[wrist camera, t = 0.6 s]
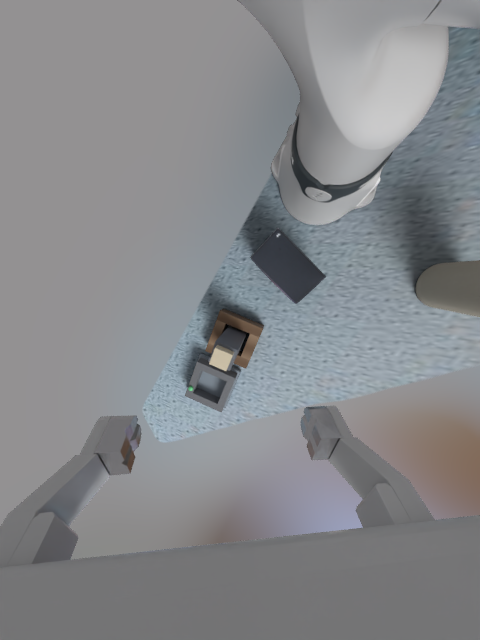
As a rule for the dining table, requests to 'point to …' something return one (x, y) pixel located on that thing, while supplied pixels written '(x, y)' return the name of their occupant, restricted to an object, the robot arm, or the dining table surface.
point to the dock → (211, 384)
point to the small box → (287, 266)
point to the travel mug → (451, 287)
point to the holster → (240, 323)
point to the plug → (227, 348)
